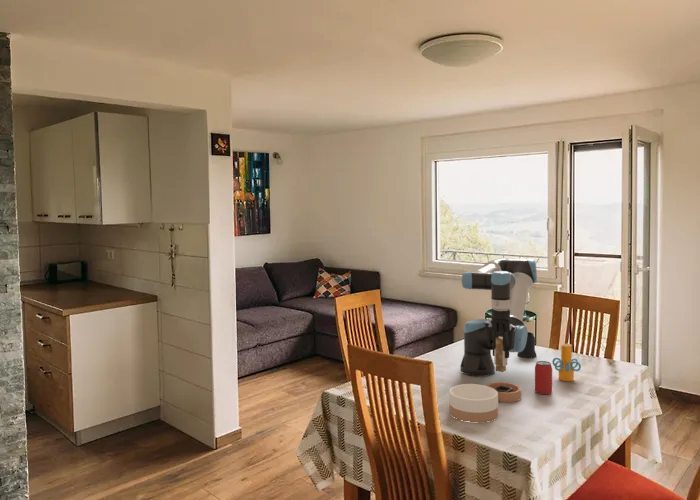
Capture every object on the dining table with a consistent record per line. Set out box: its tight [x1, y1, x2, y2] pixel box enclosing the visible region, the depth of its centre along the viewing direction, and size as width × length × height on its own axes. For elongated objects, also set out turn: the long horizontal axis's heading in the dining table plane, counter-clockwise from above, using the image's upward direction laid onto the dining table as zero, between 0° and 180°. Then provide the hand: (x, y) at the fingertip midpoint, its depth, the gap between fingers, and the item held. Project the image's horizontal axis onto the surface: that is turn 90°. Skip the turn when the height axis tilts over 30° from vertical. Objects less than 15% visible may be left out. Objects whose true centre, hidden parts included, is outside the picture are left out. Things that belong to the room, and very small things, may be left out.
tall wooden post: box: [495, 336, 507, 373], centre depth 230 cm, size 3×3×14 cm
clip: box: [495, 386, 513, 393], centre depth 217 cm, size 5×5×2 cm
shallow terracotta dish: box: [486, 381, 522, 403], centre depth 217 cm, size 13×13×4 cm
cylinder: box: [551, 343, 582, 382], centre depth 235 cm, size 12×10×15 cm
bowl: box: [448, 383, 499, 423], centre depth 200 cm, size 17×17×8 cm
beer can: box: [534, 360, 553, 395], centre depth 221 cm, size 7×7×12 cm
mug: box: [516, 331, 538, 359], centre depth 273 cm, size 12×9×11 cm
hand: (500, 364), depth 230 cm, fingers closed on tall wooden post, 3 cm apart
